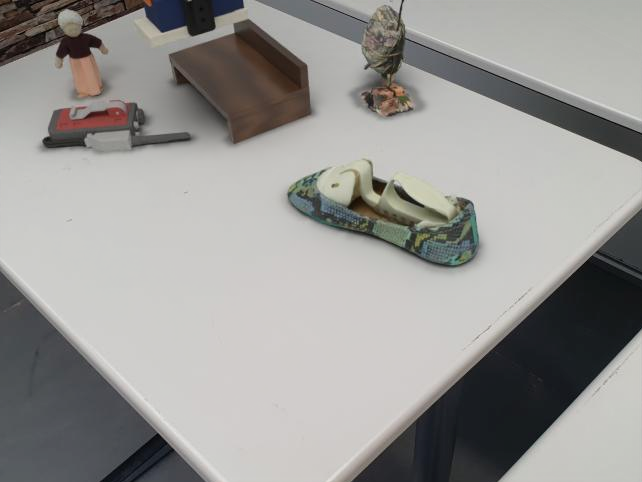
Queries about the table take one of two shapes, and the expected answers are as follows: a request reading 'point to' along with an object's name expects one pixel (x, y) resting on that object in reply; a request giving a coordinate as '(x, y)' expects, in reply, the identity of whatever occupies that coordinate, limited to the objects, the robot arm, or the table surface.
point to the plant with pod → (385, 60)
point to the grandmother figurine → (79, 54)
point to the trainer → (181, 19)
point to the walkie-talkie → (102, 127)
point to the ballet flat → (391, 210)
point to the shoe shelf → (247, 80)
